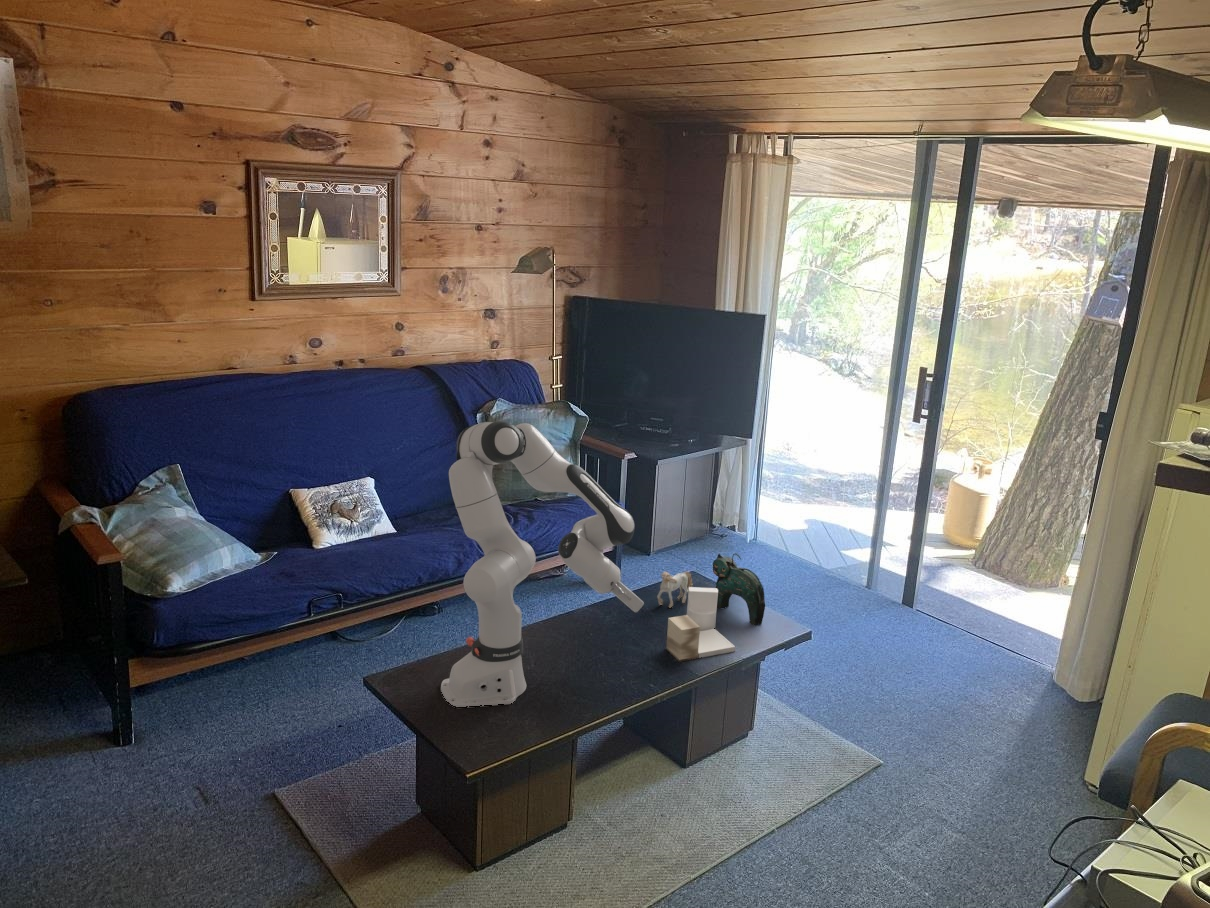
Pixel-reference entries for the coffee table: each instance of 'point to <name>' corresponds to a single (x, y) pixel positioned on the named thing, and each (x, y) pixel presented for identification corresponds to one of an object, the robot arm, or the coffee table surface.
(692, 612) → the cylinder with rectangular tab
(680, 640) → the birch block
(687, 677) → the coffee table surface
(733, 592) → the ceramic cat
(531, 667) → the coffee table surface
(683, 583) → the unicorn figurine
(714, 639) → the board
